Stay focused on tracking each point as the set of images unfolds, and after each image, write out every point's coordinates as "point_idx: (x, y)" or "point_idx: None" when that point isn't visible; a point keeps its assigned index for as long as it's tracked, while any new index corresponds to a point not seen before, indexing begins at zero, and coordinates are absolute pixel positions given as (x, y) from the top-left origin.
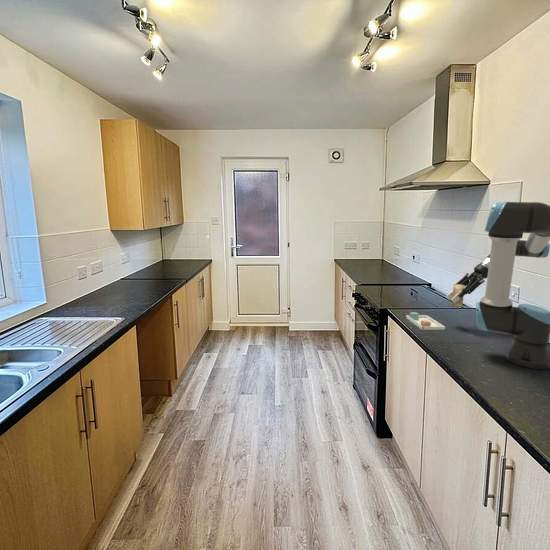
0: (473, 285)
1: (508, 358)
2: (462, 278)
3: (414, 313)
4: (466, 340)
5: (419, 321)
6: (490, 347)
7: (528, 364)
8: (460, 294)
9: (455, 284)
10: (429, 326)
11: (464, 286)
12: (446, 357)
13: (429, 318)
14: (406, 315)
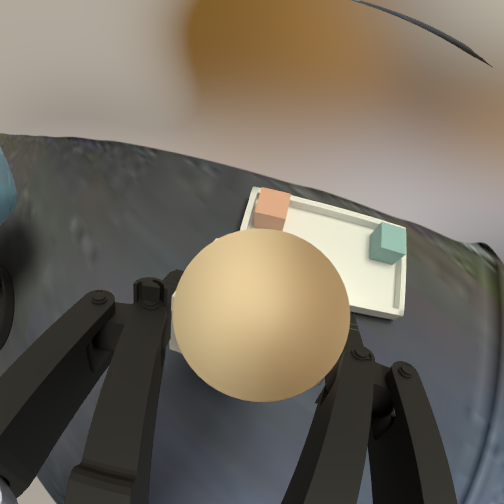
0: (24, 361)
1: (2, 268)
2: (446, 500)
3: (389, 234)
4: (124, 290)
5: (352, 251)
6: (57, 312)
7: None
8: (173, 281)
9: (324, 287)
10: (250, 213)
11: (193, 366)
12: (81, 150)
13: (367, 303)
14: (401, 226)
